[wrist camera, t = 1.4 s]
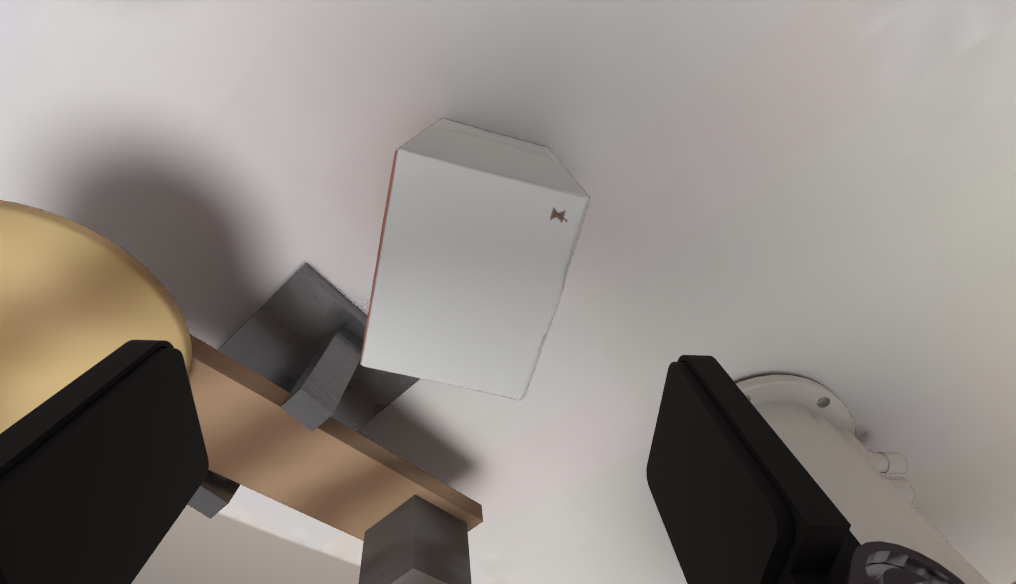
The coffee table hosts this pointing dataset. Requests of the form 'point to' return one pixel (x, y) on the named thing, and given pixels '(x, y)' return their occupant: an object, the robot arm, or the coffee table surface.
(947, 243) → the coffee table surface
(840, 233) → the coffee table surface
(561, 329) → the coffee table surface
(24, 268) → the beam
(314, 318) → the beam stand
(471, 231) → the small box
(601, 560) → the coffee table surface
